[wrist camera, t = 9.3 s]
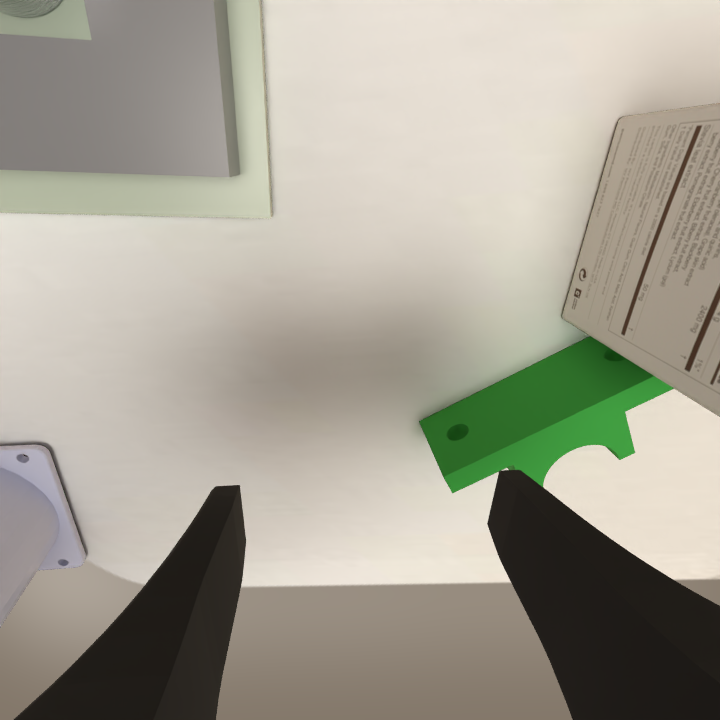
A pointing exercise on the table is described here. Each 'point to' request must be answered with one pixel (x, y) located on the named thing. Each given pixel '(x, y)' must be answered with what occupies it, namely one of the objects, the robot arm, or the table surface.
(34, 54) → the dock
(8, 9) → the silver metal cylinder
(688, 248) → the supplement box
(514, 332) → the table surface
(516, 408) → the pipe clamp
